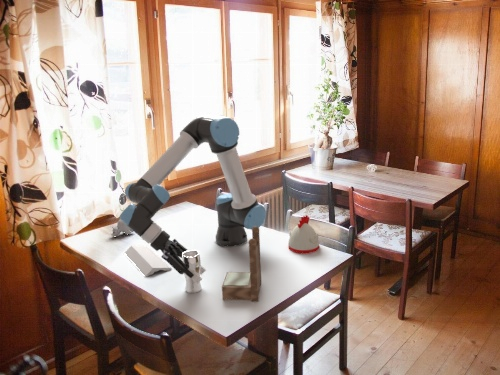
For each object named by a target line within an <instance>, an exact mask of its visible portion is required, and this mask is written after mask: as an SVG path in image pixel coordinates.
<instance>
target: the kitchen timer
mask: <svg viewBox="0 0 500 375" xmlns="http://www.w3.org/2000/svg"><path fill="white" fill-rule="evenodd" d="M309 221H310V216H308V215H307V214H306V215H303V216H301V217H300V220H299V223H297V225H295V227H294V228H293V229H292V231H290V232H289V239H288V245H287V246H288V250H289V251H290V252H292V253H295V254H301V253H302V254H301V255H303V254H312V253H313V254H314V253H315V252H317V251H318V250H319V248H320V241H319V235H318V234H317V232H316V230H315V228H313V227H312V225H310V224H309Z"/></svg>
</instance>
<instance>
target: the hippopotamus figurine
mask: <svg viewBox="0 0 500 375" xmlns="http://www.w3.org/2000/svg"><path fill="white" fill-rule="evenodd" d="M111 228H112V230H111V231H112V233H111V232H110V236H112V237H113V238H114V236H117V237H118V236H119V235H120V234H121V233H123V232H125V234H124V235H126V234H130V235H131V233H134V231H133V230H132V229H130V228H129V227H128V226H127V225H126V224H125V223H124V222H123V221H122V220H121V219H120V218H119V220H118V221H117V225H116V226H111Z"/></svg>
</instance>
